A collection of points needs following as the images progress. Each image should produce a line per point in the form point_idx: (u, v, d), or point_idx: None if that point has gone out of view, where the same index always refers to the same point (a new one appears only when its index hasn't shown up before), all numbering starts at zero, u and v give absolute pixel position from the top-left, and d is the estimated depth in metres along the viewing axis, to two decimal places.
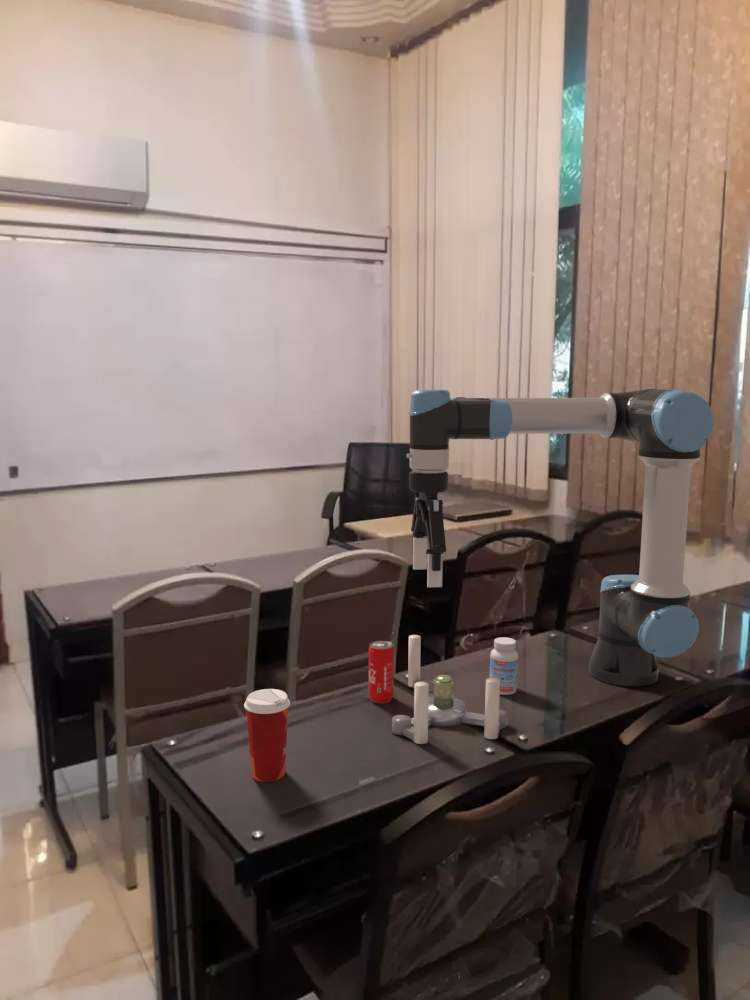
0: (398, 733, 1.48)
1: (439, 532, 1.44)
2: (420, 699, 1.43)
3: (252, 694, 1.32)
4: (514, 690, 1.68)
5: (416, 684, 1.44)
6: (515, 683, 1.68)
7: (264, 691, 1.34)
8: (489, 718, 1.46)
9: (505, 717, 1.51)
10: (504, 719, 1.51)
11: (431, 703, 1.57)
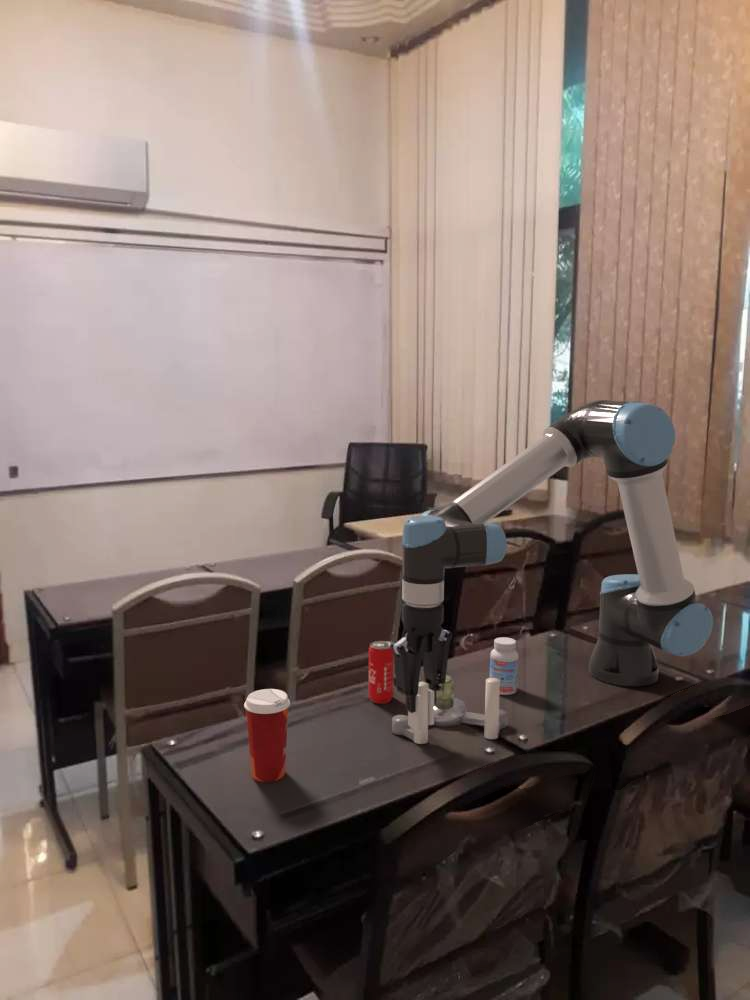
0: (398, 733, 1.48)
1: (400, 676, 1.40)
2: None
3: (253, 694, 1.32)
4: (514, 690, 1.68)
5: None
6: (515, 683, 1.68)
7: (264, 691, 1.34)
8: (489, 718, 1.46)
9: (505, 717, 1.51)
10: (504, 719, 1.51)
11: None
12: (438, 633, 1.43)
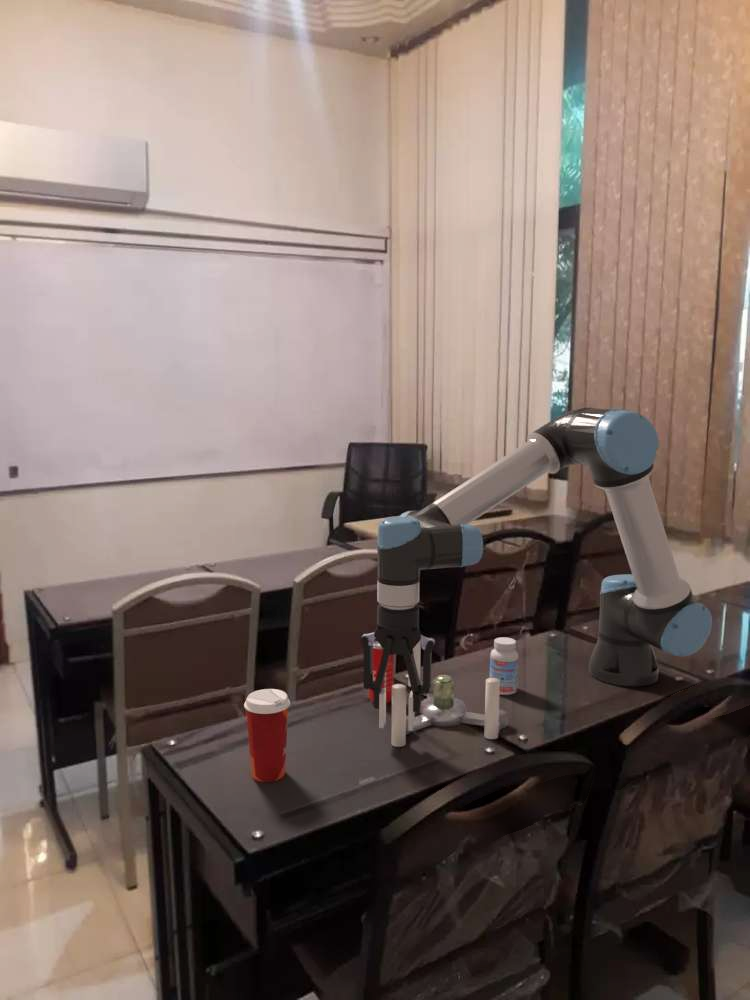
0: None
1: None
2: (393, 700, 1.42)
3: (252, 694, 1.32)
4: (514, 690, 1.68)
5: (395, 685, 1.43)
6: (515, 683, 1.68)
7: (264, 691, 1.34)
8: (489, 718, 1.46)
9: (505, 717, 1.51)
10: (504, 719, 1.51)
11: (431, 703, 1.57)
12: (413, 640, 1.40)
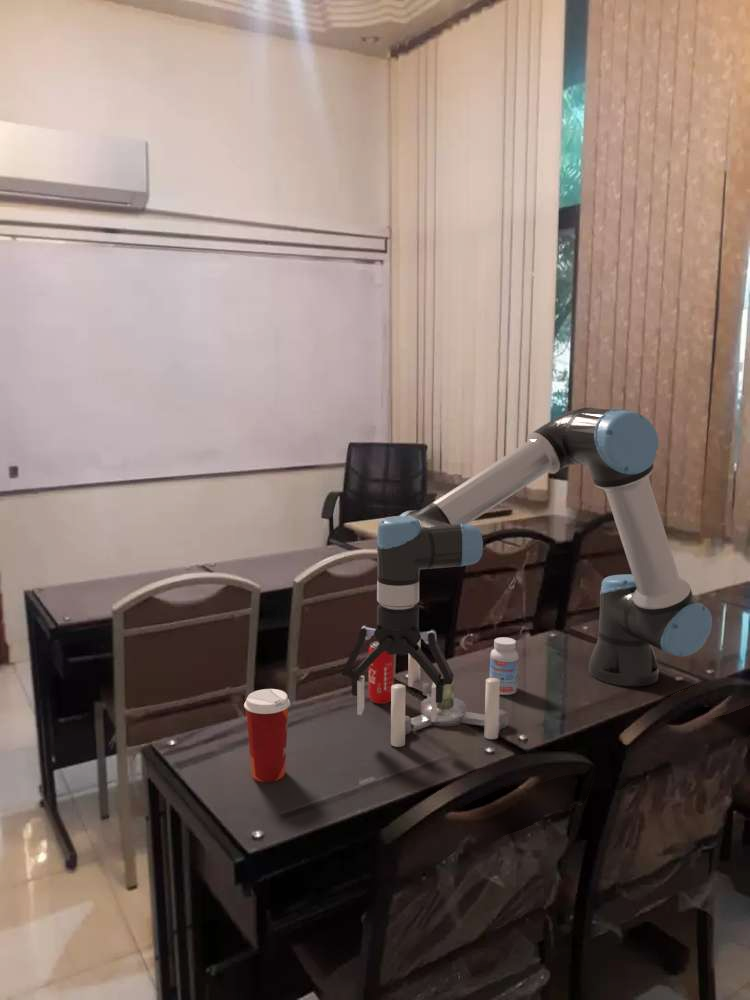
0: None
1: None
2: (392, 700, 1.42)
3: (253, 694, 1.32)
4: (514, 690, 1.68)
5: (395, 685, 1.43)
6: (515, 683, 1.68)
7: (264, 691, 1.34)
8: (489, 718, 1.46)
9: (505, 717, 1.51)
10: (504, 719, 1.51)
11: None
12: (414, 639, 1.40)
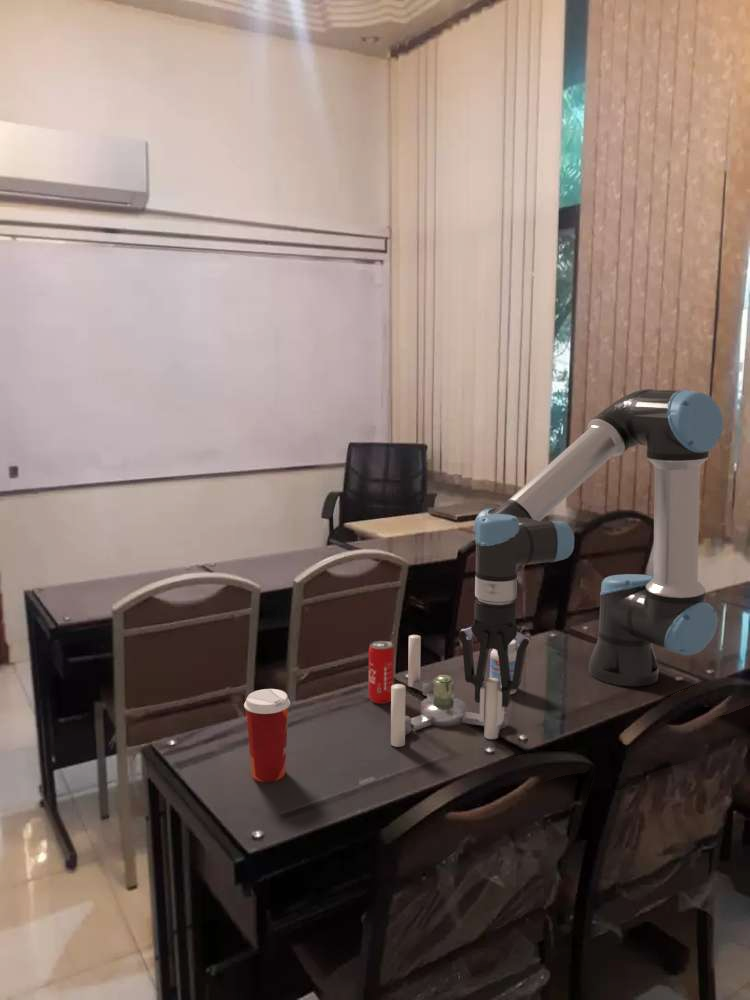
0: None
1: (522, 669, 1.44)
2: (392, 700, 1.42)
3: (252, 694, 1.32)
4: (514, 690, 1.68)
5: (395, 685, 1.43)
6: None
7: (264, 691, 1.34)
8: (489, 718, 1.46)
9: (505, 717, 1.51)
10: (504, 719, 1.51)
11: (431, 703, 1.57)
12: None
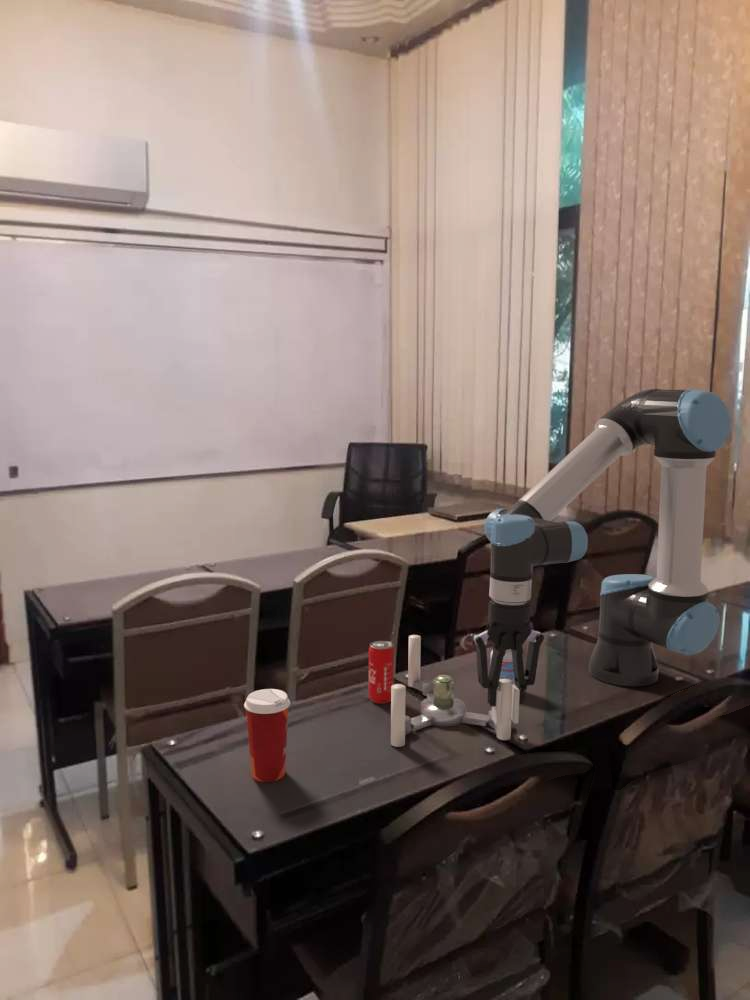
0: None
1: None
2: (392, 700, 1.42)
3: (252, 694, 1.32)
4: None
5: (395, 685, 1.43)
6: (515, 683, 1.68)
7: (264, 691, 1.34)
8: (505, 719, 1.45)
9: None
10: None
11: (431, 703, 1.57)
12: None
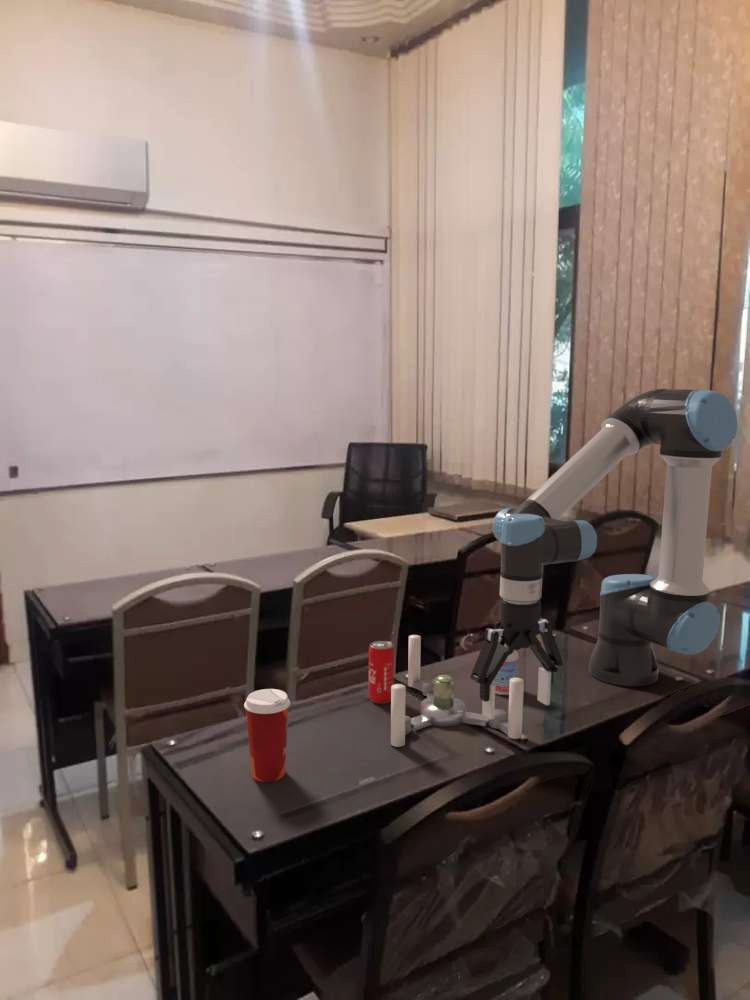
0: None
1: None
2: (392, 700, 1.42)
3: (252, 694, 1.32)
4: None
5: (395, 685, 1.43)
6: None
7: (264, 691, 1.34)
8: (519, 718, 1.46)
9: None
10: None
11: (431, 703, 1.57)
12: None
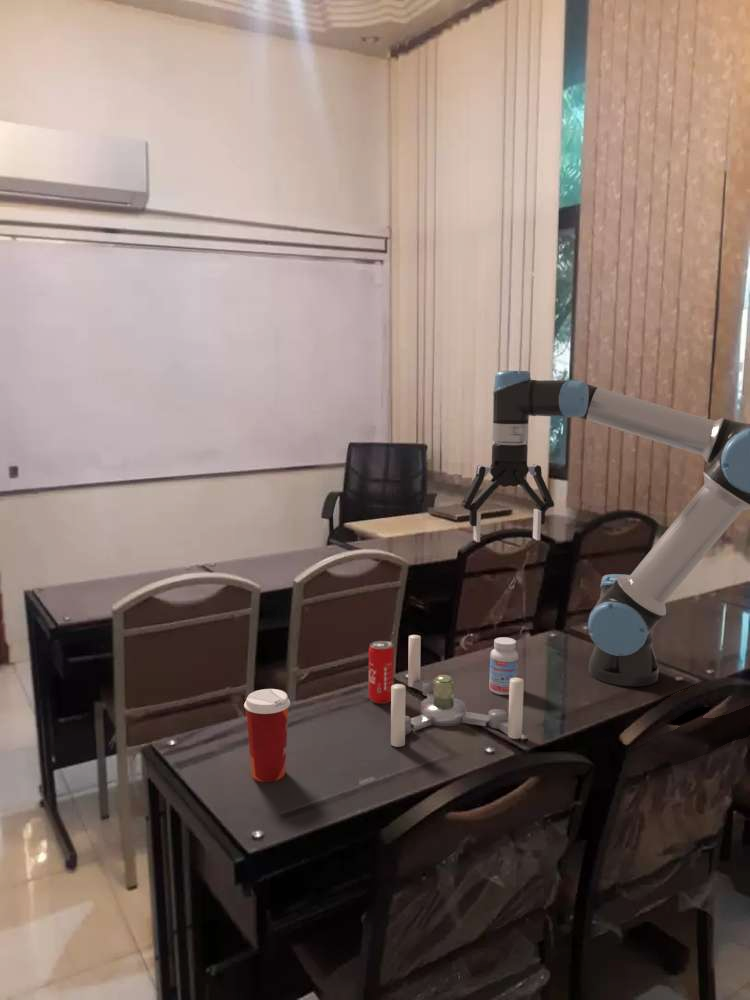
0: None
1: None
2: (392, 700, 1.42)
3: (253, 694, 1.32)
4: None
5: (395, 685, 1.43)
6: None
7: (264, 691, 1.34)
8: (519, 718, 1.46)
9: None
10: None
11: (431, 703, 1.57)
12: None
